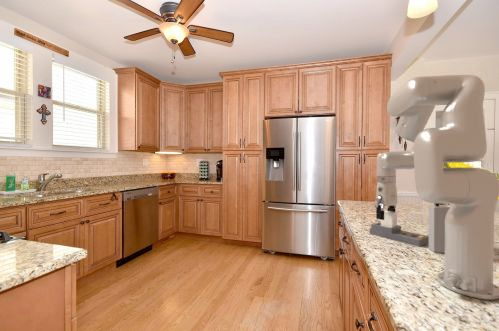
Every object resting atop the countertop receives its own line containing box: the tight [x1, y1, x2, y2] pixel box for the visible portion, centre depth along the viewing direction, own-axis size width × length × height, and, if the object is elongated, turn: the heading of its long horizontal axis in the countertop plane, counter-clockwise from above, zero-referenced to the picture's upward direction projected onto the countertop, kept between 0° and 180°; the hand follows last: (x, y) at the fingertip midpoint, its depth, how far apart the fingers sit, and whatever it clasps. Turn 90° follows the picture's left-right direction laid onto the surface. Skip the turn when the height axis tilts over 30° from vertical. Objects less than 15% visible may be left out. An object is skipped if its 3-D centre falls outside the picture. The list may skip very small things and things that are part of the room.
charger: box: [380, 210, 398, 228], centre depth 107 cm, size 4×5×8 cm
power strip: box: [369, 221, 429, 248], centre depth 104 cm, size 9×20×5 cm, turn 32°
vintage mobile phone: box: [428, 203, 451, 254], centre depth 88 cm, size 4×5×25 cm
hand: (385, 217), depth 108 cm, fingers open, 9 cm apart
